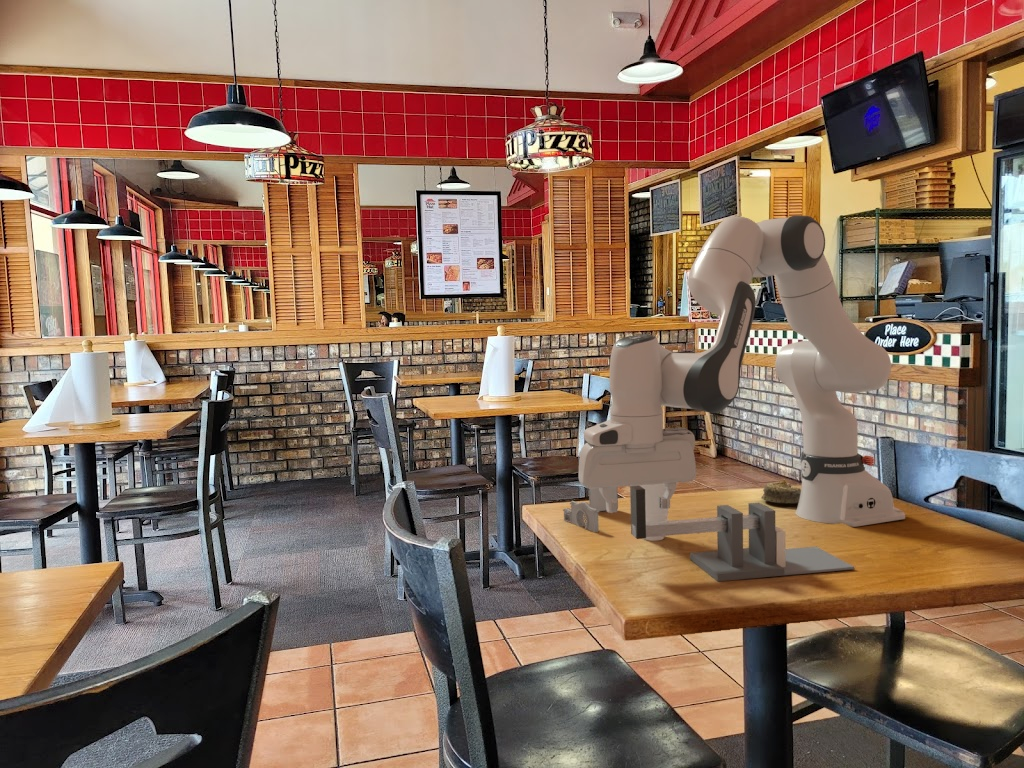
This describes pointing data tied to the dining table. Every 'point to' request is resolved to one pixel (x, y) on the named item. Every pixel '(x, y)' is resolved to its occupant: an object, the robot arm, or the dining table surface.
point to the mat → (812, 561)
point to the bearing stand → (732, 555)
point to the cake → (781, 492)
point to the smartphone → (598, 500)
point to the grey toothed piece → (582, 510)
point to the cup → (654, 506)
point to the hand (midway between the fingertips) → (638, 509)
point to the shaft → (677, 521)
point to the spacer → (780, 547)
